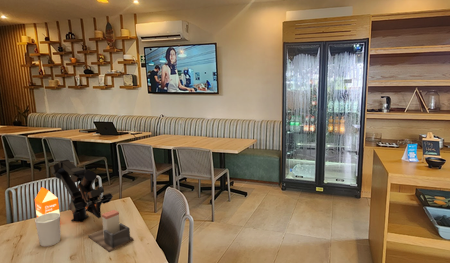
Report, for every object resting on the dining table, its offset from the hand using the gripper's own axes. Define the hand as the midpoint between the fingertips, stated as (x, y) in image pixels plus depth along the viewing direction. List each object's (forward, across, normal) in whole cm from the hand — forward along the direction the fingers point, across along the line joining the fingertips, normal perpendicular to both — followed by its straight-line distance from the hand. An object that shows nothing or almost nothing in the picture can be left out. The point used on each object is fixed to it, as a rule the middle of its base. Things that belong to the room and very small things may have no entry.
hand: (99, 217), depth 137 cm
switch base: (+12, 0, -1) cm, 12 cm away
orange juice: (-14, -13, +26) cm, 32 cm away
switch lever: (+12, 0, -3) cm, 12 cm away
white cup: (-2, -19, +13) cm, 23 cm away
